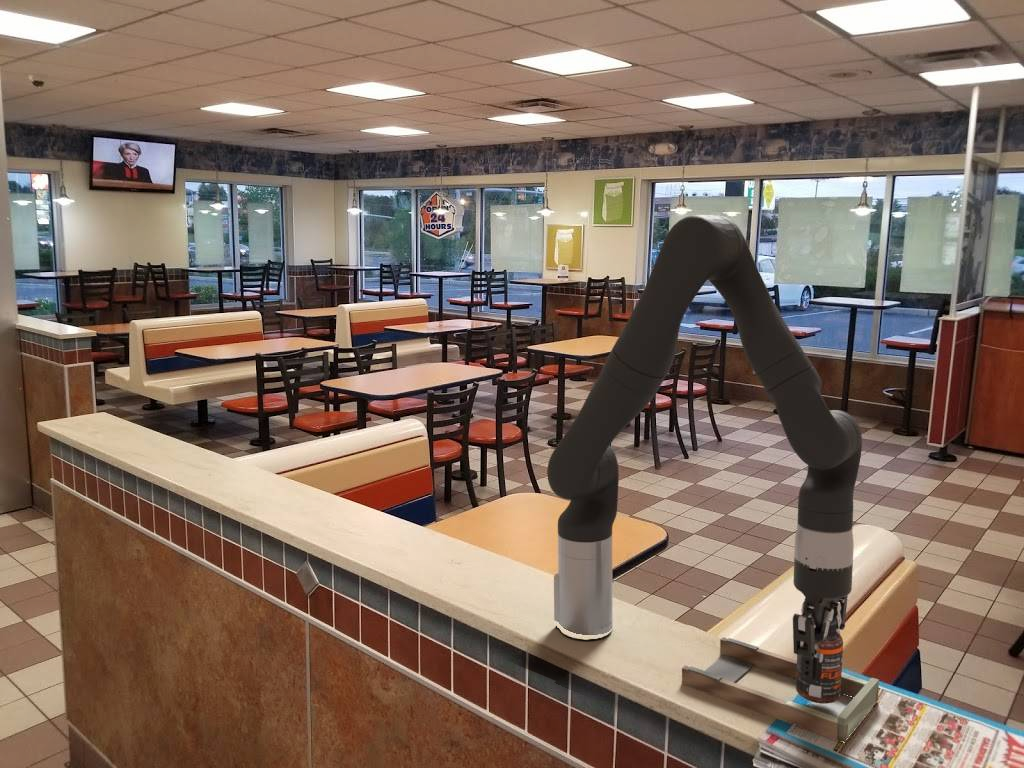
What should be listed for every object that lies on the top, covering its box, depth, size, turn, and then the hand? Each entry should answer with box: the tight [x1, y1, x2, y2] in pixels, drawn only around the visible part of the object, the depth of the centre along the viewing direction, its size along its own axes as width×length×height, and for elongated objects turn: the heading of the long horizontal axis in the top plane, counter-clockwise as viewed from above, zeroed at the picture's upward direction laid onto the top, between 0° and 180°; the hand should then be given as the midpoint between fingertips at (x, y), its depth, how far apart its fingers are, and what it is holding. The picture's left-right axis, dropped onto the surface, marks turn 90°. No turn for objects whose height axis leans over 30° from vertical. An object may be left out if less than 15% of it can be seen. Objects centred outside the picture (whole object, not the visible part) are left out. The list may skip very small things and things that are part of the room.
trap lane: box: [681, 637, 880, 742], centre depth 118 cm, size 24×13×4 cm, turn 48°
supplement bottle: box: [795, 617, 844, 704], centre depth 114 cm, size 6×6×11 cm
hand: (818, 670), depth 114 cm, fingers closed on supplement bottle, 6 cm apart
